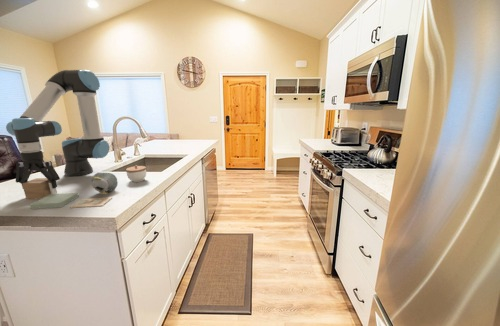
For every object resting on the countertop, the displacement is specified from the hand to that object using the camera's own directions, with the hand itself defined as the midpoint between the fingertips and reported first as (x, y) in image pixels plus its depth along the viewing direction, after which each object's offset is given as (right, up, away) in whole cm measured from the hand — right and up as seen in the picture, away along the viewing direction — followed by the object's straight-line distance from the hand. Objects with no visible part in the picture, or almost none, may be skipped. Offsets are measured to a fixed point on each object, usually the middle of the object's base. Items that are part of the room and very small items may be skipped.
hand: (42, 194), depth 108 cm
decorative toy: (+30, 0, +3) cm, 30 cm away
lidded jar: (+36, +5, +22) cm, 43 cm away
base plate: (+14, -2, -8) cm, 16 cm away
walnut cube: (0, 0, 0) cm, 1 cm away
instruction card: (+31, -2, -9) cm, 33 cm away
